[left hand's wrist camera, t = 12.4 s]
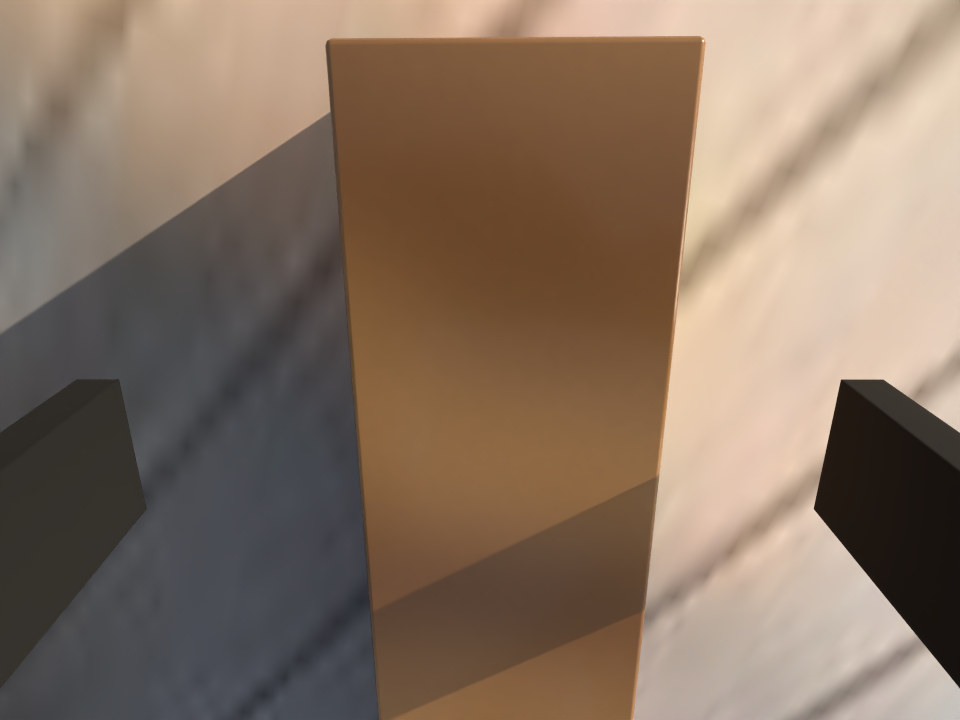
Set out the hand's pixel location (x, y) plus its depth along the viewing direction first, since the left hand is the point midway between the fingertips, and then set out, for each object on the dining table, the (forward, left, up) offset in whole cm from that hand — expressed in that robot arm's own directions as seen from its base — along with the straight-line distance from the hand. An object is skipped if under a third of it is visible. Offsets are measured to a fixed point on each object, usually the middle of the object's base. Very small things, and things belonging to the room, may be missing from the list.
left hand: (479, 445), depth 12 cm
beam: (+24, -17, -8) cm, 30 cm away
